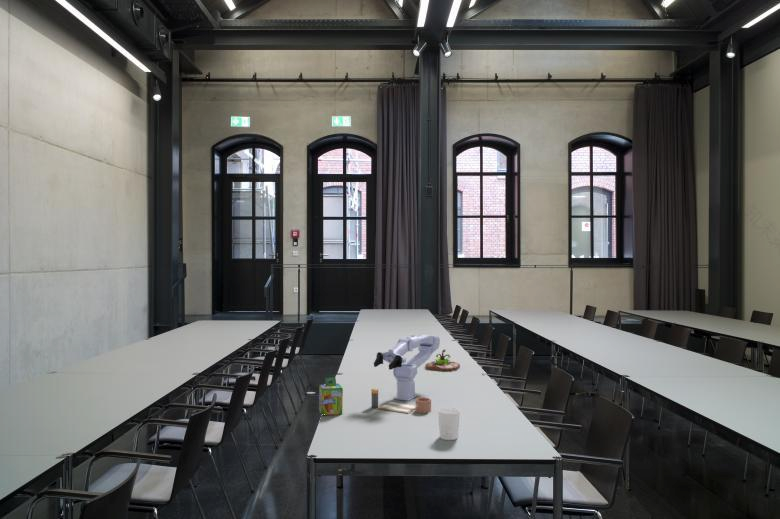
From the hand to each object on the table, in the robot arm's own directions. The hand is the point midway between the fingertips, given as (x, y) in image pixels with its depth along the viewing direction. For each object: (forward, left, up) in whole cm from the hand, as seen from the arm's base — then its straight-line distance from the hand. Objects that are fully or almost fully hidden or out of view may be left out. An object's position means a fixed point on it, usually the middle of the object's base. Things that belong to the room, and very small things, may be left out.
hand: (381, 366), depth 241 cm
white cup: (+21, +40, -19) cm, 49 cm away
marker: (-1, -4, -19) cm, 19 cm away
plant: (-95, -9, -20) cm, 97 cm away
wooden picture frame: (-5, +6, -19) cm, 20 cm away
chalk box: (+15, -17, -19) cm, 30 cm away
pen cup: (-6, +18, -19) cm, 26 cm away
